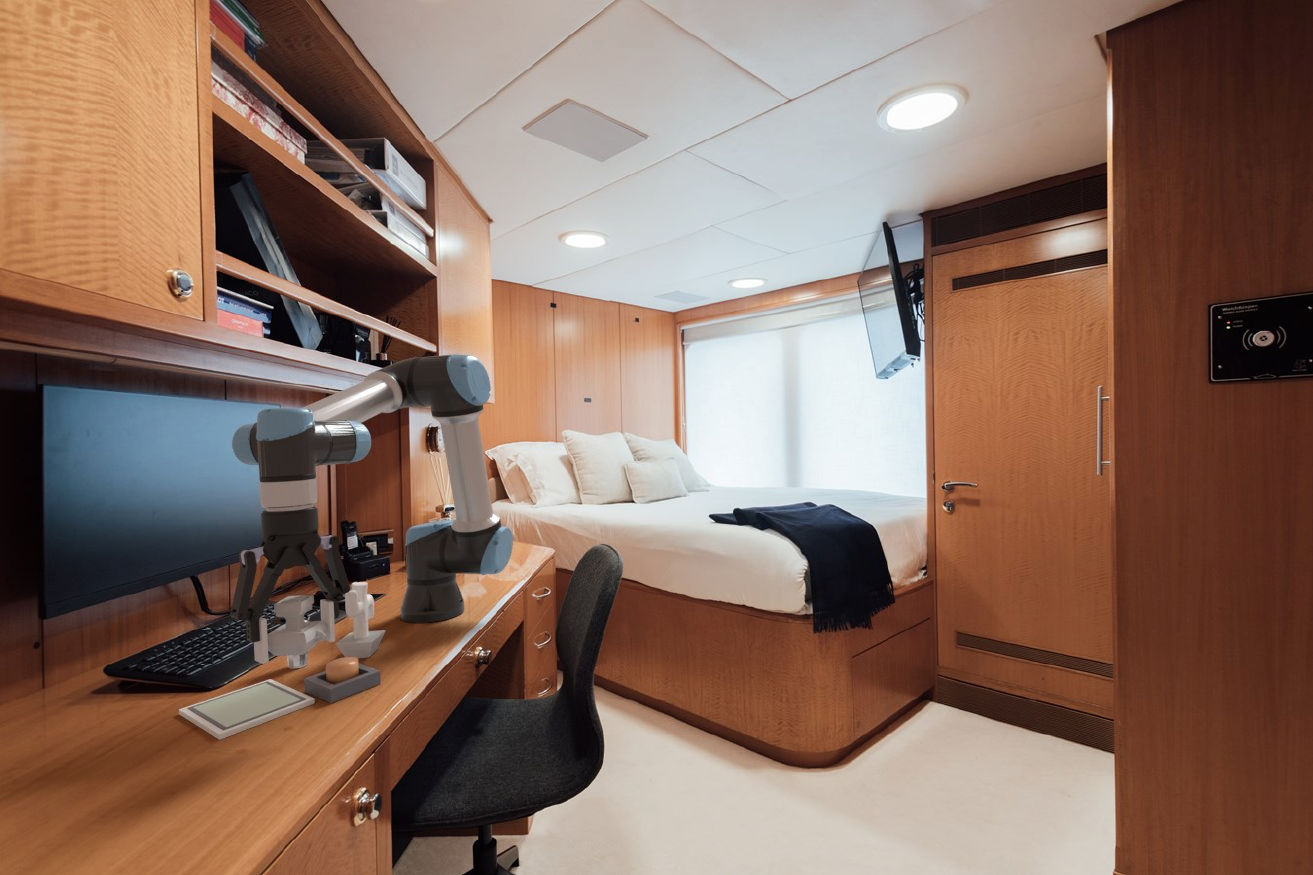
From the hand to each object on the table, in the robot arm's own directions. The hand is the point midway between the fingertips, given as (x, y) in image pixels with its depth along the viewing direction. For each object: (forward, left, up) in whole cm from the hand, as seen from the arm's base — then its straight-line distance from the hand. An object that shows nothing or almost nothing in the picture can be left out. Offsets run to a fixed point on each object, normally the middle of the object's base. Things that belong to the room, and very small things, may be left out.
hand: (296, 650), depth 94 cm
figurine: (-23, -22, -12) cm, 34 cm away
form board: (+1, -15, -12) cm, 19 cm away
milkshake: (-13, -27, -12) cm, 32 cm away
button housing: (-12, -9, -12) cm, 19 cm away
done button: (-12, -9, -11) cm, 18 cm away
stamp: (0, 0, -1) cm, 1 cm away
